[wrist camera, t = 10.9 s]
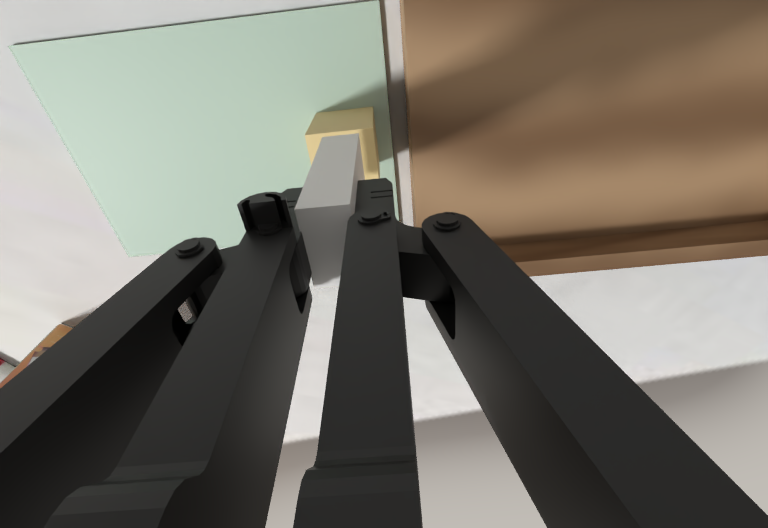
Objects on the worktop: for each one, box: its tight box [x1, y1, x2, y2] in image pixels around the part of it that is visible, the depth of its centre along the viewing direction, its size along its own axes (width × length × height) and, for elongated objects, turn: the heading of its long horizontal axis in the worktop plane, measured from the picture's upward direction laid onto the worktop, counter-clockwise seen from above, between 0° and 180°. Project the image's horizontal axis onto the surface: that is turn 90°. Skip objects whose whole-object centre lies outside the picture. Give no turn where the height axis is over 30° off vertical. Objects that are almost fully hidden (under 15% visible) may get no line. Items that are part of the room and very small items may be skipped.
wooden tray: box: [400, 0, 768, 277], centre depth 18 cm, size 15×20×5 cm
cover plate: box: [8, 0, 399, 257], centre depth 20 cm, size 12×18×5 cm
